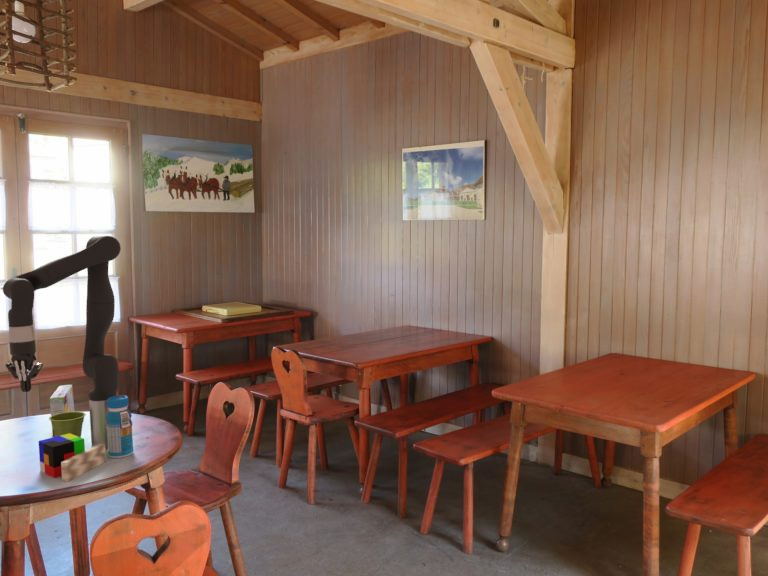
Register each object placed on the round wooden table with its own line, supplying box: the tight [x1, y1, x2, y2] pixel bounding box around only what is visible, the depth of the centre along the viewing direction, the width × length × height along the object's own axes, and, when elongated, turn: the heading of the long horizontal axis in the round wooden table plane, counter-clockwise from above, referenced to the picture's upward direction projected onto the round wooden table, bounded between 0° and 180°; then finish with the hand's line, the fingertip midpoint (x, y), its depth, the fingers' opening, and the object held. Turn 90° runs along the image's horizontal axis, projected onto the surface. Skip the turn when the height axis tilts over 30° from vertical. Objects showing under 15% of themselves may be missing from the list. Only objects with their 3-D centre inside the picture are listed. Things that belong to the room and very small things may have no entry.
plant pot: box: [48, 411, 86, 438], centre depth 235 cm, size 12×12×11 cm
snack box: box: [49, 384, 76, 437], centre depth 257 cm, size 21×6×15 cm, turn 17°
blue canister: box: [106, 395, 134, 459], centre depth 225 cm, size 8×8×20 cm
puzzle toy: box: [38, 433, 86, 479], centre depth 211 cm, size 10×10×10 cm
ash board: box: [61, 444, 107, 483], centre depth 210 cm, size 18×2×6 cm, turn 166°
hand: (26, 391), depth 216 cm, fingers closed
